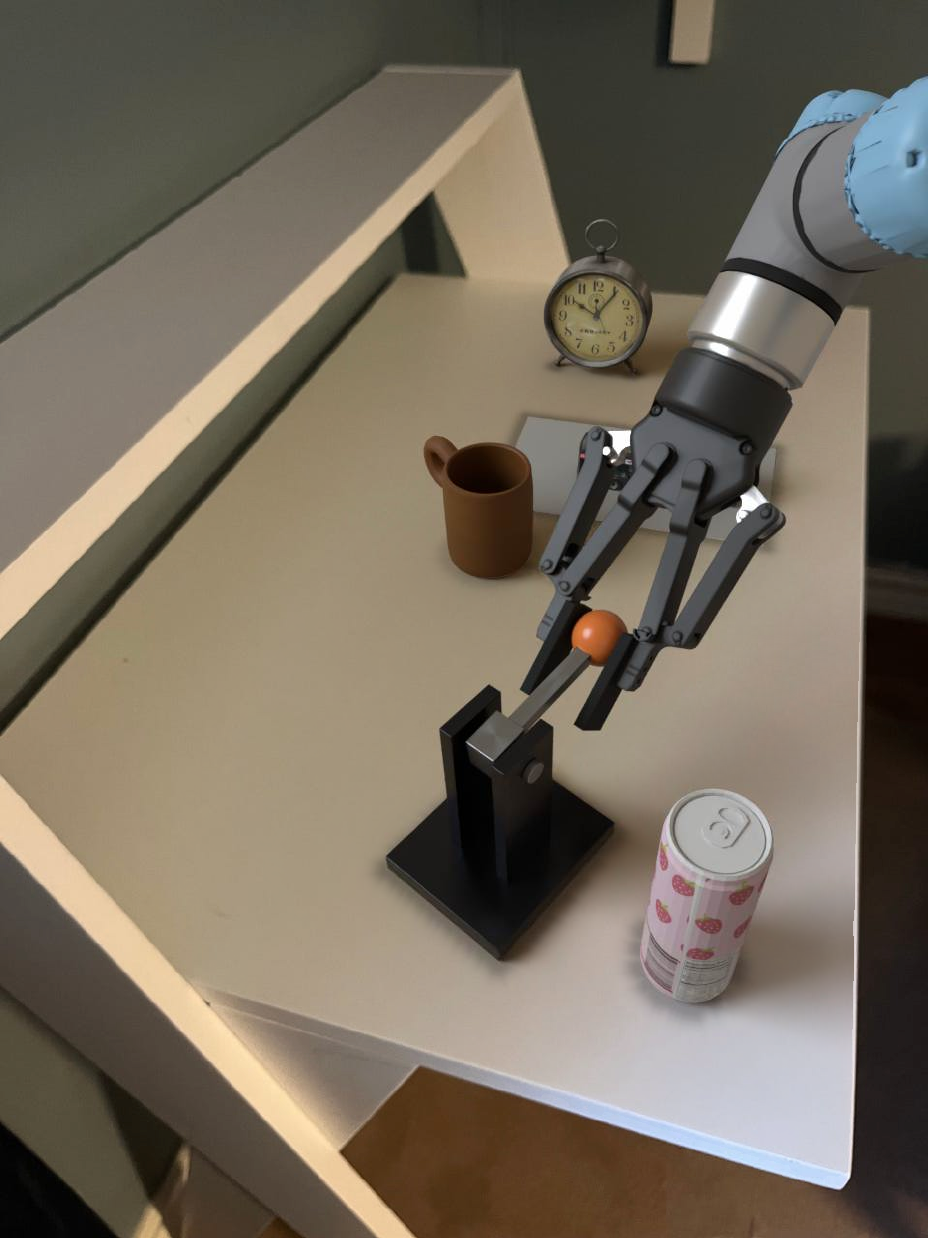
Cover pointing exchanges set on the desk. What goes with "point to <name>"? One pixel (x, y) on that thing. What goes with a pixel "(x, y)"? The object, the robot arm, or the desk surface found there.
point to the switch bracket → (498, 834)
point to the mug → (484, 504)
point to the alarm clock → (598, 310)
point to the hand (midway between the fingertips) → (560, 709)
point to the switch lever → (547, 688)
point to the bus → (562, 457)
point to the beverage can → (704, 892)
